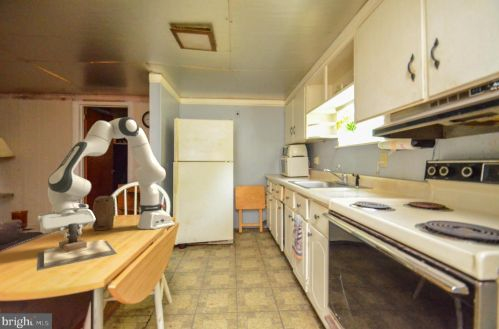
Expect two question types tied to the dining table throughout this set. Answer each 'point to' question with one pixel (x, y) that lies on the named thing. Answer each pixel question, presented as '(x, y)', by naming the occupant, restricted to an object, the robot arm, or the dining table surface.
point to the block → (103, 213)
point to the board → (75, 253)
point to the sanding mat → (41, 262)
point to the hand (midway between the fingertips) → (73, 235)
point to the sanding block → (72, 240)
